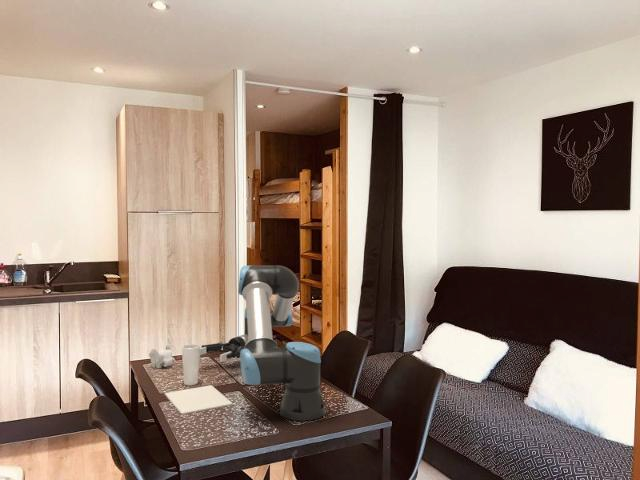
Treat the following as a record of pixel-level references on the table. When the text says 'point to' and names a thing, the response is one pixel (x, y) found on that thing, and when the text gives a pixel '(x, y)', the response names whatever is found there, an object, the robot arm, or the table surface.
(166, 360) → the elephant figurine
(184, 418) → the table surface
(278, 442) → the table surface
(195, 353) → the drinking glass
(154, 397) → the table surface
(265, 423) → the table surface
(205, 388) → the felt placemat
